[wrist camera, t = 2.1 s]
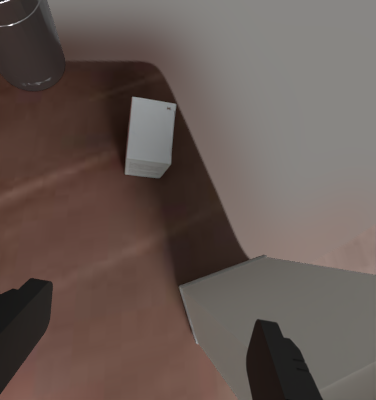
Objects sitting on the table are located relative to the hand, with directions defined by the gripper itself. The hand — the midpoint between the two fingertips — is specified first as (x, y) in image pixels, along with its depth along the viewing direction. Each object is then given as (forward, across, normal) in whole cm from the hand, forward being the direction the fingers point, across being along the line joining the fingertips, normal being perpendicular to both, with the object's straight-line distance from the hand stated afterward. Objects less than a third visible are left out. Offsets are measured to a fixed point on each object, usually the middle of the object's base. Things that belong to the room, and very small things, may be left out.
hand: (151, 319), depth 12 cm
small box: (+37, +7, -2) cm, 38 cm away
